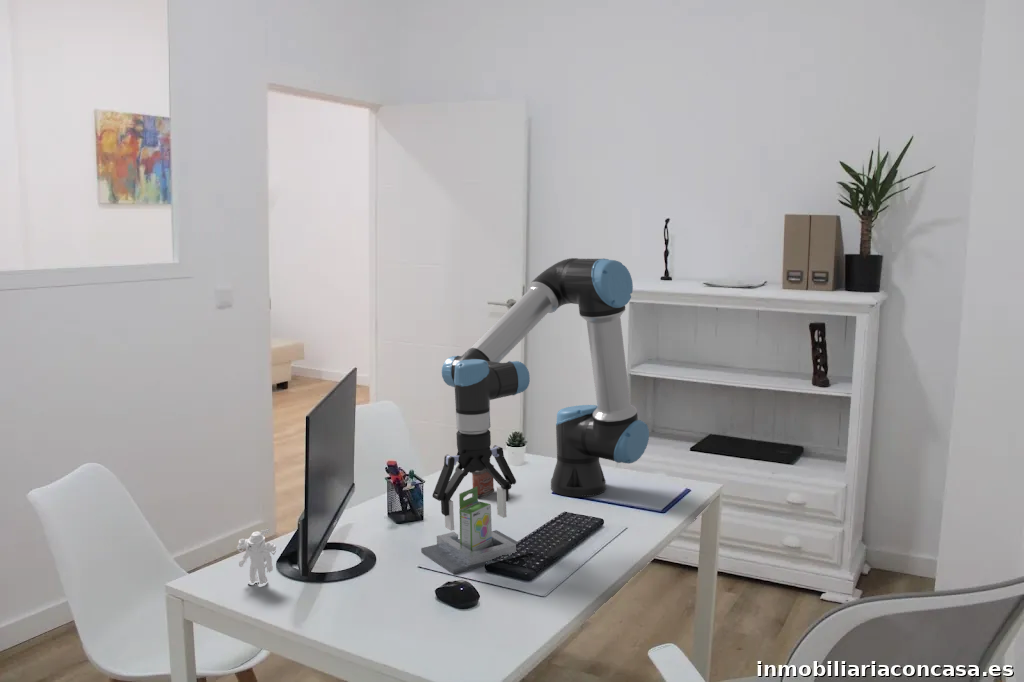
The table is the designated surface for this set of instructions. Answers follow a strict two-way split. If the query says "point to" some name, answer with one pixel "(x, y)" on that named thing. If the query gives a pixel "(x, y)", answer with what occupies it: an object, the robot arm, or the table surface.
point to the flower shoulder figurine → (257, 555)
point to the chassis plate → (452, 559)
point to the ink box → (474, 522)
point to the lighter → (483, 483)
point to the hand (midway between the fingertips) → (476, 522)
